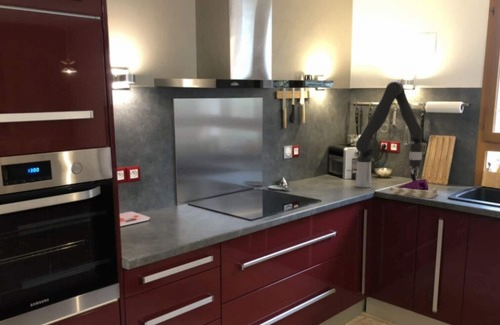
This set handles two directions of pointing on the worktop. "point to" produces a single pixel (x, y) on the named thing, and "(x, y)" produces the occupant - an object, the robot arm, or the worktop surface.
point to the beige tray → (414, 192)
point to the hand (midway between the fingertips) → (414, 185)
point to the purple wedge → (416, 185)
